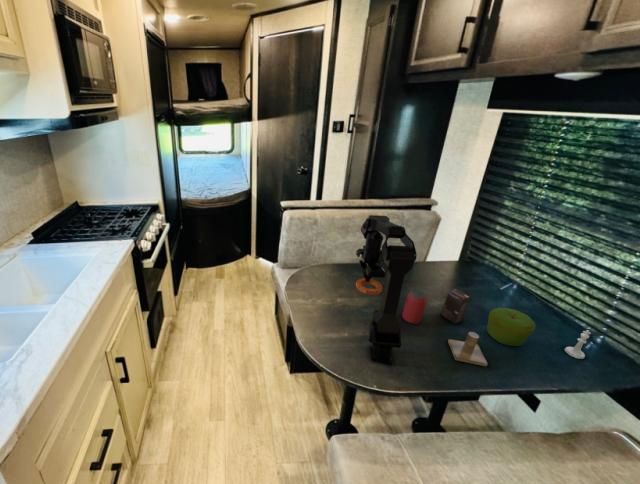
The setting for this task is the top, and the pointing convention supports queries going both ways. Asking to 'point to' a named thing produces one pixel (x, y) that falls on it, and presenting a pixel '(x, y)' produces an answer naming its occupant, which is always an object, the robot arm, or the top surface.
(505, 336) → the apple
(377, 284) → the ring
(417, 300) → the beer can
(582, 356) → the chess piece
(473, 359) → the square plate with peg
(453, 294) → the box
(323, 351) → the top surface
